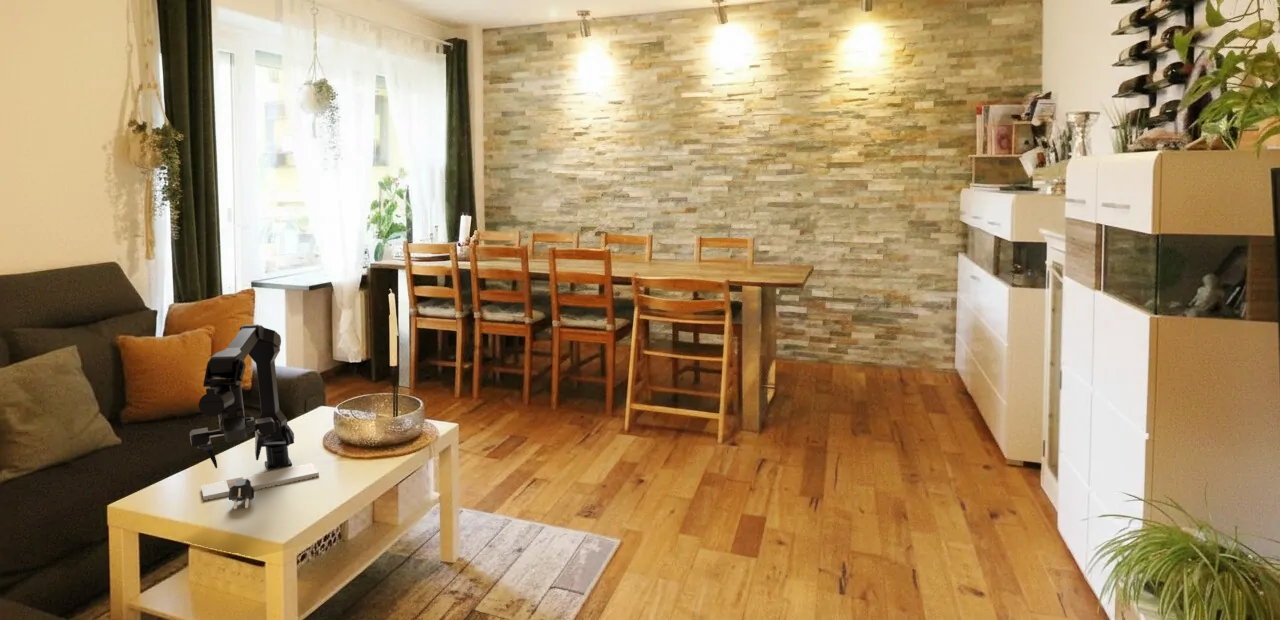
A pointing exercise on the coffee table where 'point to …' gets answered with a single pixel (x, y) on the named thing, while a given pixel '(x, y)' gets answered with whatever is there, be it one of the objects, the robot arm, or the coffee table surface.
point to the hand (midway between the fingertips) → (237, 463)
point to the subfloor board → (261, 480)
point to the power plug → (241, 492)
